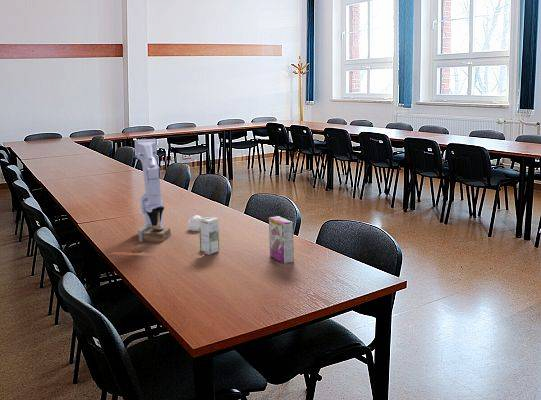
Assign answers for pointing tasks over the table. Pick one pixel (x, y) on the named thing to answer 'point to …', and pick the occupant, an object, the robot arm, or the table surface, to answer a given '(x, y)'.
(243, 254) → the table surface
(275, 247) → the candy bar box
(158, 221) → the birch dowel
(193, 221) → the motion sensor
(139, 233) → the backstop board
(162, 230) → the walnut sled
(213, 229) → the syrup box
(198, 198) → the table surface
